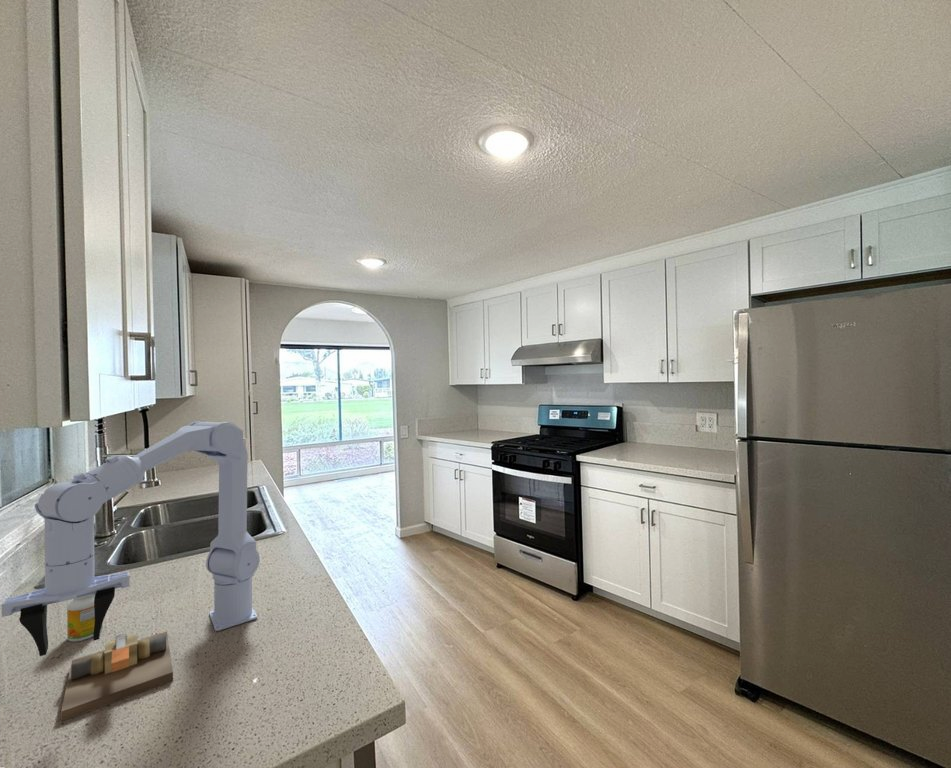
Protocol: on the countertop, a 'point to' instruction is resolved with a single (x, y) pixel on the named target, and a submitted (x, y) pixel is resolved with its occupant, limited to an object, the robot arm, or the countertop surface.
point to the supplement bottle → (81, 618)
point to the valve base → (116, 674)
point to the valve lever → (120, 654)
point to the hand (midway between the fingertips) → (71, 644)
